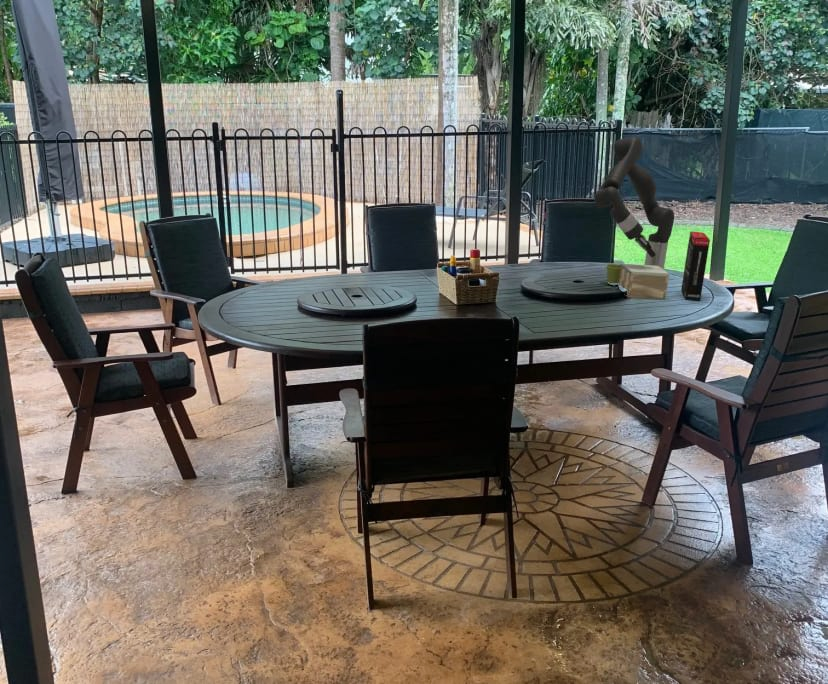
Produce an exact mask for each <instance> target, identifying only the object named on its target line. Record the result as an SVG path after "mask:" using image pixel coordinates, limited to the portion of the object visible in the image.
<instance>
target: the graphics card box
mask: <svg viewBox="0 0 828 684" xmlns="http://www.w3.org/2000/svg"><path fill="white" fill-rule="evenodd" d="M710 241H711V239H710V238H709V237H708V236H707V235H706V234H705V232H699V231H691V230H690V233H689V237H688V244H687V250H686V257H685V262H684V263H685V264H684V270H683V277H682V282H681V293H682V295H683V297H684V299H685V300H687V299H691V300H690V301H701V297H702V292H703V291H702V290H703V285H704V279H705V273H706V269H707V261H708V254H709V248H710Z"/></svg>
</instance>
